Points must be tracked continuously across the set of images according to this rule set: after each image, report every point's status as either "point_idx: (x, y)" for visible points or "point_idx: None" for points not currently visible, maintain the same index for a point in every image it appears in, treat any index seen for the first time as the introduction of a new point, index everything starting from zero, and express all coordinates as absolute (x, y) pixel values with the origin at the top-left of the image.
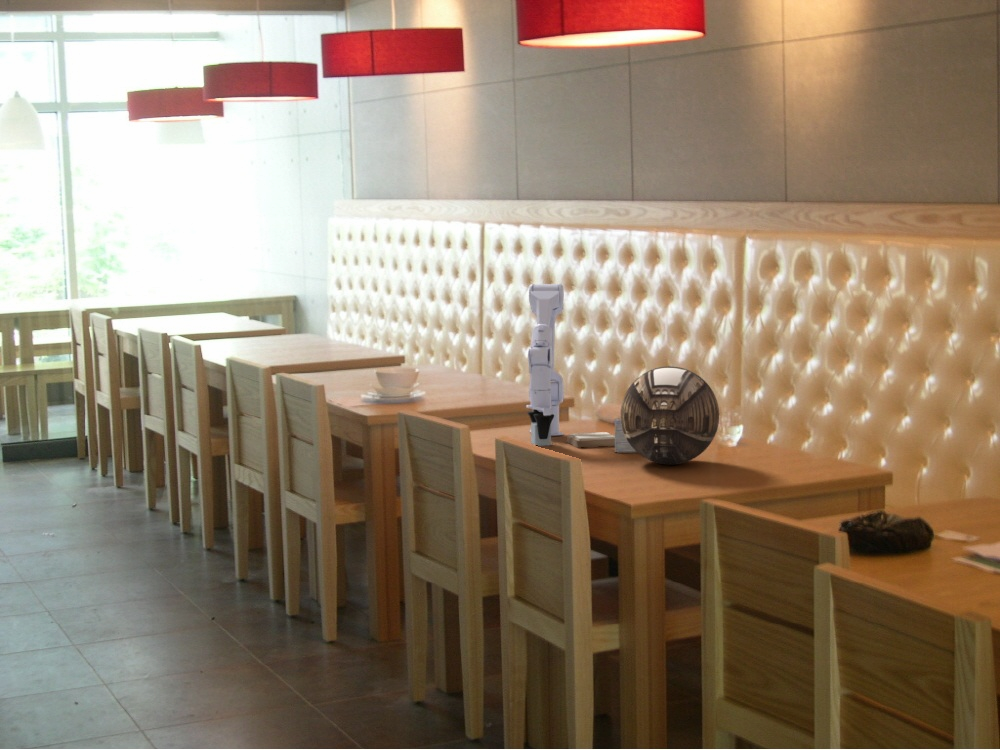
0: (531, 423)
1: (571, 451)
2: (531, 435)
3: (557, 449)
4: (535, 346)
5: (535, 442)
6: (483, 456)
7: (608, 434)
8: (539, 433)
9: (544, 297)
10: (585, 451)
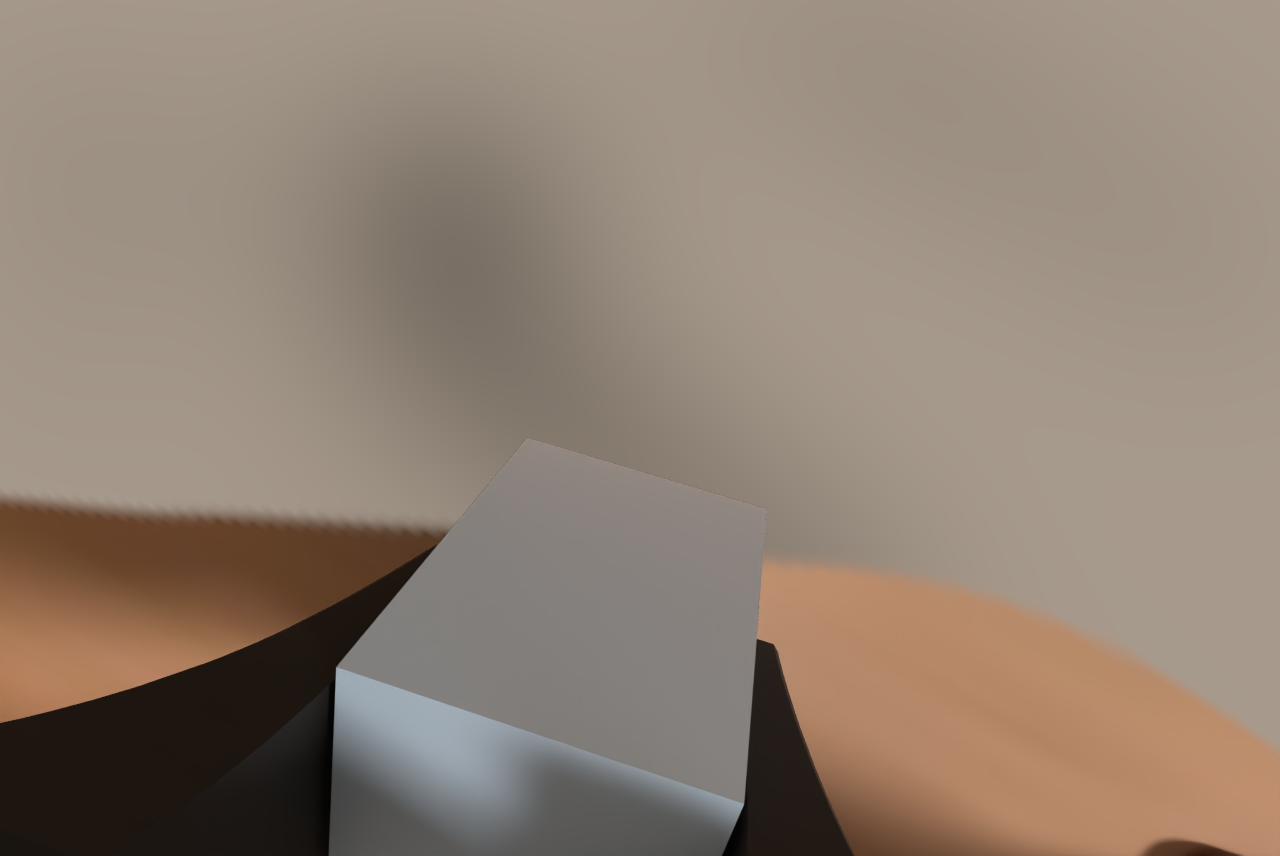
0: (706, 770)
1: (48, 568)
2: (739, 580)
3: (195, 523)
4: None
5: (506, 464)
6: None
7: None
8: (376, 584)
9: None
10: (31, 664)
